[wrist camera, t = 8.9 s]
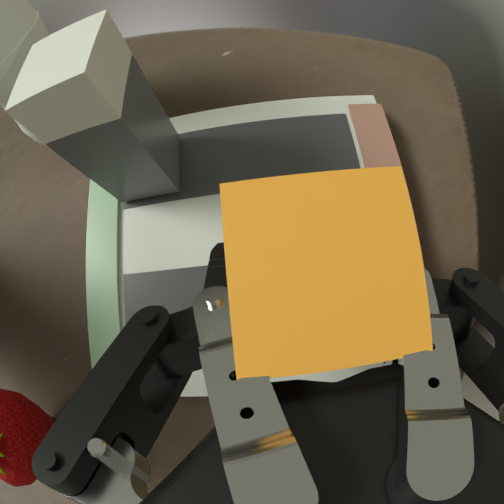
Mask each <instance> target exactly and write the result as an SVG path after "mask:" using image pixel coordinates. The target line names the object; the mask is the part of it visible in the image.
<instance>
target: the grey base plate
mask: <svg viewBox="0 0 504 504" xmlns="http://www.w3.org/2000/svg"><path fill="white" fill-rule="evenodd" d="M5 112H6V113H8V114H9V115H10V116H11V117H13V118H14V119H15V120H16V121H17V122H19V123H20V124H21V125H22V126H24V127H25V128H26V129H27V130H29V131H30V132H31V133H32V134H34V135H35V136H36V137H37V138H39V139H40V140H41V141H42V142H44V143H45V144H46V145H47V146H49V147H50V148H51V149H52V150H54V151H55V152H56V153H58V154H59V155H60V156H61V157H63V158H64V159H65V160H67V161H68V162H69V163H70V164H72V165H73V166H74V167H76V168H77V169H78V170H79V171H81V172H82V173H83V174H85V175H86V176H87V177H89V178H90V189H89V201H88V215H87V235H86V301H87V321H88V336H89V347H90V358H91V367H92V369H93V367H94V366H95V365H96V363H97V362H98V361H99V359H100V358H101V357H102V355H103V354H104V353H105V351H106V350H107V349H108V347H109V346H110V345H111V343H112V342H113V341H114V339H115V338H116V337H117V335H118V334H119V333H120V331H121V330H122V329H123V328H124V326H125V325H126V324H127V322H128V321H129V320H130V318H131V317H132V316H133V315H134V314H135V313H136V312H137V311H139V310H140V309H142V308H144V307H147V306H152V305H158V306H162V307H164V308H166V309H167V310H168V312H169V314H172V313H175V312H178V311H182V310H184V309H187V308H189V307H191V306H192V302H193V299H194V297H195V296H196V295H197V294H198V293H199V292H200V291H202V290H203V289H204V284H205V279H206V273H207V268H208V263H209V258H210V253H211V250H212V249H213V248H214V246H215V245H216V244H217V243H222V242H224V239H223V226H222V213H221V199H220V184H221V183H228V182H236V181H243V180H251V179H258V178H266V177H275V176H284V175H293V174H302V173H312V172H323V171H334V170H346V169H360V168H375V167H392V166H401V162H400V159H399V156H398V152H397V149H396V146H395V143H394V140H393V136H392V133H391V130H390V128H389V125H388V122H387V119H386V116H385V113H384V110H383V108H382V105H381V104H376V101H375V98H374V96H373V95H360V96H330V97H312V98H299V99H288V100H278V101H268V102H260V103H252V104H245V105H238V106H231V107H225V108H219V109H213V110H207V111H202V112H196V113H191V114H186V115H181V116H176V117H172V118H169V117H168V116H167V114H166V112H165V110H164V109H163V107H162V105H161V103H160V102H159V100H158V98H157V96H156V95H155V93H154V91H153V89H152V88H151V86H150V84H149V82H148V81H147V79H146V77H145V76H144V74H143V72H142V70H141V69H140V67H139V65H138V63H137V61H136V60H135V58H134V56H133V54H132V53H131V51H130V49H129V47H128V46H127V44H126V42H125V40H124V39H123V37H122V35H121V33H120V32H119V30H118V28H117V27H116V25H115V23H114V21H113V19H112V18H111V16H110V14H109V12H108V11H107V10H104V11H101V12H99V13H97V14H94V15H92V16H90V17H87V18H85V19H82V20H80V21H78V22H76V23H74V24H72V25H69V26H67V27H65V28H63V29H61V30H60V31H57V32H55V33H53V34H51V35H49V36H48V37H46V38H44V39H42V40H40V41H38V42H37V43H35V44H33V45H32V47H31V49H30V51H29V53H28V55H27V57H26V60H25V62H24V64H23V66H22V68H21V71H20V73H19V75H18V77H17V80H16V82H15V85H14V87H13V90H12V92H11V95H10V97H9V100H8V103H7V105H6V108H5ZM401 168H402V166H401ZM402 172H403V169H402ZM403 175H404V173H403ZM404 179H405V176H404ZM405 183H406V180H405ZM406 186H407V184H406ZM407 190H408V188H407ZM408 194H409V191H408ZM409 198H410V195H409ZM410 202H411V199H410ZM411 207H412V203H411ZM412 211H413V208H412ZM413 215H414V212H413ZM414 220H415V216H414ZM415 224H416V221H415ZM416 229H417V226H416ZM417 234H418V230H417ZM418 239H419V235H418ZM419 244H420V240H419ZM420 249H421V245H420ZM421 255H422V251H421ZM422 261H423V256H422ZM423 267H424V262H423ZM376 367H381V362H380V363H375V364H370V365H364V366H358V367H352V368H346V369H340V370H333V371H327V372H319V373H312V374H304V375H295V376H286V377H276V378H269V379H270V381H271V382H277V381H287V380H297V379H299V380H309V381H322V382H338V381H341V380H343V379H346V378H348V377H351V376H353V375H356V374H358V373H360V372H363V371H365V370H367V369H370V368H376ZM195 396H208V393H207V388H206V384H205V379H204V375H203V370H202V369H200V370H197V371H194V372H192V375H191V377H190V379H189V381H188V382H187V384H186V386H185V388H184V390H183V392H182V393H181V395H180V397H195Z"/></svg>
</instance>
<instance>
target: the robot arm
mask: <svg viewBox="0 0 504 504" xmlns="http://www.w3.org/2000/svg"><path fill="white" fill-rule="evenodd" d="M424 273H425V279H426V286H427V294H428V302H429V310H430V320H431V331H432V344H433V351H427V350H425V351H420V352H416V353H412V354H407V355H403V358H400V359H395V360H390V361H385V362H381V367H376V368H370V369H367V370H365V371H363V372H360V373H358V374H356V375H353V376H351V377H348V378H346V379H343V380H341V381H338V382H322V381H309V380H299V379H297V380H287V381H277V382H271V381H270V379H269V376H260V377H247V378H240V379H239V380H236V370H235V361H234V351H233V341H232V331H231V320H230V310H229V299H228V287H227V276H226V264H225V252H224V242H222V243H217V244H216V245H215V246H214V248H213V249H212V250H211V253H210V258H209V263H208V268H207V273H206V279H205V284H204V289H203V290H202V291H200V292H199V293H198V294H197V295H196V296H195V297H194V299H193V302H192V306H191V307H189V308H187V309H184V310H182V311H178V312H175V313H172V314H169V312H168V310H167V309H166V308H164V307H162V306H158V305H152V306H147V307H144V308H142V309H140V310H139V311H137V312H136V313H135V314H134V315H133V316H132V317H131V318H130V320H129V321H128V322H127V324H126V325H125V326H124V328H123V329H122V330H121V331H120V333H119V334H118V335H117V337H116V338H115V339H114V341H113V342H112V343H111V345H110V346H109V347H108V349H107V350H106V351H105V353H104V354H103V355H102V357H101V358H100V359H99V361H98V362H97V363H96V365H95V366H94V367H93V369H92V370H91V371H90V373H89V374H88V376H87V377H86V378H85V380H84V381H83V382H82V384H81V385H80V387H79V388H78V389H77V391H76V392H75V394H74V395H73V396H72V398H71V399H70V401H69V402H68V403H67V405H66V406H65V408H64V409H63V411H62V412H61V414H60V415H59V416H58V418H57V419H56V421H55V422H54V424H53V425H52V427H51V428H50V430H49V431H48V433H47V434H46V436H45V437H44V439H43V440H42V442H41V443H40V445H39V446H38V448H37V449H36V451H35V453H34V455H33V459H32V469H33V472H34V475H35V476H36V478H37V479H38V480H39V481H40V482H41V483H43V484H45V485H47V486H48V487H50V488H52V489H54V490H56V491H57V492H58V493H59V494H61V495H63V496H64V497H66V498H68V499H70V500H72V501H74V502H77V503H79V504H504V291H503V290H501V289H500V288H499V287H498V286H497V285H495V284H494V283H493V282H492V281H490V280H489V279H488V278H487V277H485V276H484V275H483V274H481V273H480V272H478V271H477V270H474V269H471V268H460V269H458V270H456V271H455V272H454V273H453V276H452V280H446V279H435V278H431V276H430V273H429V272H428V271H427V270H426V269H425V268H424ZM476 319H477V320H478V321H479V322H480V323H481V324H482V325H483V326H484V327H485V328H486V329H487V330H488V331H489V332H491V334H492V335H493V336H494V339H495V348H493V347H492V346H491V345H490V344H489V343H488V342H487V341H486V340H485V339H484V338H483V337H482V336H481V335H480V334H479V333H478V332H477V331H476V330H475V329H474V328H473V324H474V322H475V320H476ZM459 367H460V368H461V369H462V370H463V371H464V372H465V373H466V374H467V375H468V377H469V378H470V379H471V380H472V381H473V382H474V383H475V384H476V386H477V387H478V388H479V389H480V390H481V391H482V392H483V393H484V395H485V396H486V397H487V398H488V399H489V401H490V402H491V403H492V404H493V405H494V406H495V408H496V409H497V410H498V411H499V418H500V421H498V420H496V419H495V418H493V417H491V416H490V415H488V414H487V413H485V412H484V411H482V410H481V409H479V408H478V407H476V406H475V405H473V404H472V403H470V402H469V401H467V400H466V399H464V398H463V391H462V384H461V377H460V371H459ZM200 369H202V370H203V375H204V379H205V384H206V388H207V393H208V397H209V402H210V406H211V410H212V414H213V419H214V423H215V426H214V428H213V429H212V430H211V431H210V432H209V433H208V434H207V435H206V436H205V437H204V438H203V440H202V441H201V442H200V443H199V444H198V445H197V446H196V447H195V448H194V449H193V450H192V451H191V452H190V453H189V454H188V455H187V457H186V458H185V459H184V460H183V461H182V462H181V463H180V464H179V465H178V466H177V467H176V468H175V469H174V470H173V471H172V472H171V473H170V474H169V475H168V476H167V477H166V478H165V479H164V480H163V481H162V482H161V483H160V484H159V485H158V486H157V487H156V488H155V489H154V490H153V491H152V492H150V493H149V494H148V492H147V485H148V482H149V478H150V474H151V469H150V465H149V463H148V461H147V460H146V457H147V455H148V454H149V452H150V450H151V448H152V446H153V444H154V443H155V441H156V439H157V437H158V435H159V434H160V432H161V430H162V428H163V426H164V424H165V423H166V421H167V419H168V417H169V415H170V413H171V412H172V410H173V408H174V406H175V404H176V403H177V401H178V399H179V397H180V395H181V393H182V392H183V390H184V388H185V386H186V384H187V382H188V381H189V379H190V377H191V375H192V372H194V371H197V370H200Z"/></svg>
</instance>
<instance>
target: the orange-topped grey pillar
mask: <svg viewBox="0 0 504 504" xmlns="http://www.w3.org/2000/svg"><path fill="white" fill-rule="evenodd" d="M220 199H221V213H222V226H223V239H224V252H225V264H226V276H227V287H228V299H229V310H230V320H231V331H232V341H233V351H234V361H235V370H236V380H239V379H240V378H247V377H260V376H269V378H276V377H286V376H295V375H304V374H312V373H319V372H327V371H333V370H340V369H346V368H352V367H358V366H364V365H370V364H375V363H380V362H385V361H390V360H395V359H400V358H403V355H407V354H412V353H416V352H420V351H425V350H427V351H433V344H432V331H431V320H430V310H429V302H428V294H427V286H426V279H425V273H424V267H423V261H422V255H421V249H420V244H419V239H418V234H417V229H416V224H415V220H414V215H413V211H412V207H411V202H410V198H409V194H408V190H407V186H406V183H405V179H404V175H403V172H402V168H401V166H392V167H375V168H360V169H346V170H334V171H323V172H312V173H302V174H293V175H284V176H275V177H266V178H258V179H251V180H243V181H236V182H228V183H221V184H220Z"/></svg>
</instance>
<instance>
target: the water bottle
mask: <svg viewBox="0 0 504 504" xmlns="http://www.w3.org/2000/svg"><path fill="white" fill-rule="evenodd" d="M48 36H49V34H48V32H47V30H46V28H45V26H44V24H43V22H42V19H41V16H40V13H39V12H38V11H35V10H34V9H33V8H32V6H31V5H30V3H29V2H28V1H27V0H0V105H1V106H2V107H3V108H4V109H5V108H6V105H7V103H8V100H9V97H10V95H11V92H12V90H13V87H14V85H15V82H16V80H17V77H18V75H19V73H20V71H21V68H22V66H23V64H24V62H25V60H26V57H27V55H28V53H29V51H30V49H31V47H32V45H33V44H35V43H37V42H38V41H40V40H42V39H44V38H46V37H48ZM14 120H15V119H14ZM15 121H16V120H15ZM16 122H17V121H16ZM17 124H18V125H19V127H20V128H21V130H22V131H23V132H24V133H26V134H27V135H28V136H30V137H31V138H32V139H34V140H35V141H37V142H39V143H41V144H44V145H46V144H45V143H44V142H42V141H41V140H40V139H39V138H37V137H36V136H35V135H34V134H32V133H31V132H30V131H29V130H27V129H26V128H25V127H24V126H22V125H21V124H20V123H19V122H17Z"/></svg>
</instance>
